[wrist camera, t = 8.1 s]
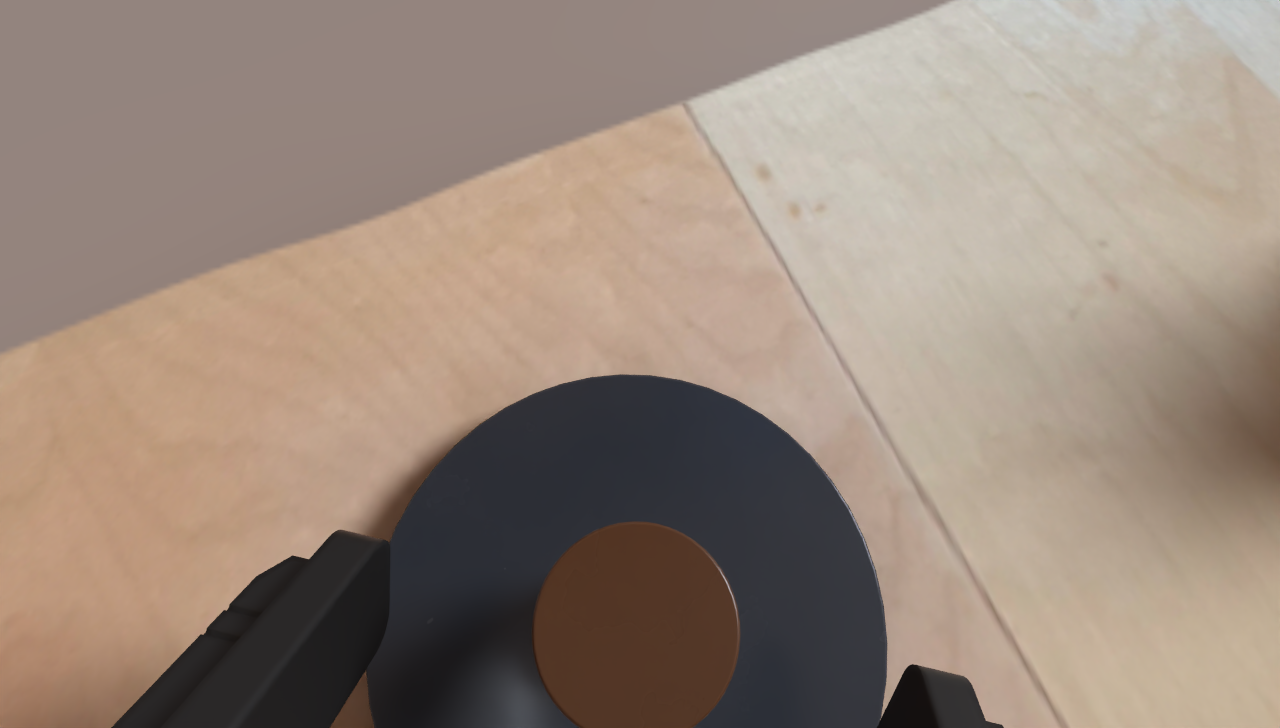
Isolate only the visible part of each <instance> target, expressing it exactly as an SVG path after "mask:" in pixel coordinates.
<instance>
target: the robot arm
mask: <svg viewBox="0 0 1280 728" xmlns="http://www.w3.org/2000/svg"><path fill="white" fill-rule="evenodd" d="M389 607H390V545H389V542H388V541H386V540H382V539H378V538H374V537H369V536H365V535H361V534H357V533H353V532H348V531H344V530H338V531H335V532H334V533H333V534H332V535H331V536H330V537H329V538H328V539H327V540H326V541H325V542H324V543H323V544H322V546H321V547H320V548H319V549H318V550H317V551H316V552H315V553H314V555H313V556H312V557H311V558H310V559H305V558H301V557H296V556H291V557H289V558H288V559H286V560H284V561H282V562H281V563H279V564H277V565H275V566H274V567H272V568H270V569H268V570H267V571H265V572H263V573H262V574H260V575H258V576H256V577H255V579H254V580H253V581H252V582H251V583H250V584H249V585H248V586H247V587H246V588H245V589H244V590H243V591H242V592H241V593H240V594H239V595H238V596H237V597H236V598H235V599H234V600H233V601H232V603H231V604H230V606H229V608H228V610H227V611H226V610H224V611H223V612H222V613H221V614H220V615H219V616H218V617H217V618H216V619H215V620H214V621H213V622H212V623H211V624H210V625H209V626H208V628H207V631H206V633H205V634H204V635H200V636H199V637H198V638H197V639H196V640H195V641H194V642H193V643H192V644H191V645H190V646H189V647H188V648H187V649H186V650H185V651H184V653H183V654H182V655H181V656H180V657H179V658H178V659H177V660H176V661H175V662H174V663H173V664H172V665H171V666H170V667H169V668H168V669H167V670H166V671H165V672H164V673H163V674H162V675H161V677H160V678H159V679H158V680H157V681H156V682H155V683H154V684H153V685H152V686H151V687H150V688H149V689H148V690H147V691H146V692H145V693H144V694H143V695H142V696H141V697H140V698H139V699H138V700H137V702H136V703H135V704H134V705H133V706H132V707H131V708H130V709H129V710H128V711H127V712H126V713H125V714H124V715H123V716H122V717H121V718H120V719H119V720H118V721H117V722H116V723H115V724H114V726H113V727H112V728H330V726H331V725H332V723H333V721H334V720H335V718H336V717H337V715H338V713H339V712H340V710H341V709H342V707H343V705H344V704H345V702H346V701H347V699H348V697H349V696H350V694H351V693H352V691H353V689H354V688H355V686H356V685H357V683H358V681H359V680H360V678H361V677H362V675H363V673H364V672H365V670H366V669H367V667H368V665H369V664H370V662H371V661H372V659H373V658H374V656H375V654H376V652H377V650H378V648H379V646H380V644H381V642H382V639H383V637H384V634H385V631H386V627H387V623H388V619H389ZM877 728H1004V727H1003V726H1002V725H1000V724H996V723H992V722H987V721H986V720H985V718H984V715H983V713H982V710H981V707H980V705H979V702H978V699H977V697H976V694H975V691H974V689H973V687H972V685H971V683H970V681H969V680H968V679H967V678H965V677H964V676H960V675H956V674H952V673H947V672H943V671H939V670H935V669H931V668H926V667H922V666H918V665H913V664H912V665H910V666H908V667H907V668H906V670H905V671H904V673H903V675H902V677H901V679H900V681H899V683H898V685H897V687H896V689H895V692H894V694H893V696H892V698H891V700H890V702H889V704H888V706H887V708H886V710H885V712H884V714H883V716H882V718H881V720H880V722H879V724H878V726H877Z"/></svg>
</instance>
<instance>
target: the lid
mask: <svg viewBox="0 0 1280 728" xmlns="http://www.w3.org/2000/svg"><path fill="white" fill-rule="evenodd" d="M389 545H390V607H389V619H388V623H387V627H386V631H385V634H384V637H383V639H382V642H381V644H380V646H379V648H378V650H377V652H376V654H375V656H374V658H373V659H372V661H371V662H370V664H369V665H368V667H367V669H366V674H367V684H368V695H369V705H370V710H371V715H372V719H373V724H374V728H877V726H878V724H879V722H880V719H881V714H882V707H883V700H884V693H885V686H886V678H887V635H886V625H885V615H884V606H883V601H882V597H881V592H880V587H879V583H878V578H877V574H876V570H875V567H874V565H873V562H872V559H871V556H870V553H869V550H868V547H867V544H866V542H865V539H864V537H863V535H862V533H861V531H860V529H859V527H858V524H857V522H856V520H855V518H854V516H853V514H852V512H851V510H850V508H849V507H848V505H847V503H846V502H845V500H844V499H843V497H842V496H841V494H840V493H839V491H838V490H837V488H836V486H835V485H834V483H833V482H832V480H831V479H830V478H829V477H828V475H827V474H826V473H825V472H824V471H823V469H822V468H821V467H820V466H819V465H818V463H817V462H816V461H815V460H814V458H813V457H812V456H811V455H810V454H809V453H808V452H807V451H806V450H805V449H804V448H803V447H802V446H801V445H799V444H798V443H797V442H796V441H795V440H794V439H793V438H792V437H791V436H790V435H789V434H788V433H787V432H785V431H784V430H783V429H781V428H780V427H778V426H777V425H776V424H774V423H773V422H772V421H770V420H769V419H768V418H766V417H765V416H764V415H762V414H760V413H759V412H757V411H755V410H753V409H752V408H750V407H748V406H746V405H745V404H743V403H741V402H740V401H738V400H736V399H733V398H731V397H729V396H726V395H724V394H722V393H719V392H717V391H714V390H712V389H710V388H707V387H703V386H699V385H696V384H692V383H689V382H685V381H682V380H677V379H670V378H664V377H657V376H651V375H611V376H600V377H590V378H586V379H581V380H577V381H572V382H568V383H563V384H560V385H557V386H554V387H551V388H548V389H546V390H543V391H540V392H537V393H534V394H532V395H530V396H528V397H526V398H524V399H522V400H520V401H518V402H516V403H514V404H512V405H510V406H508V407H506V408H504V409H503V410H501V411H500V412H498V413H497V414H495V415H494V416H492V417H491V418H489V419H488V420H486V421H485V422H483V423H481V424H480V425H479V426H477V427H476V428H475V429H474V430H473V431H471V432H470V433H469V434H468V435H467V436H466V437H464V438H463V439H462V440H461V441H460V442H459V443H457V444H456V445H455V446H454V447H453V448H452V449H451V450H450V451H449V452H448V453H447V455H446V456H445V457H444V458H443V459H442V460H441V461H440V462H439V463H438V464H437V465H436V466H435V468H434V469H433V470H432V471H431V472H430V474H429V475H428V476H427V478H426V479H425V481H424V482H423V483H422V485H421V486H420V487H419V489H418V490H417V492H416V493H415V494H414V496H413V497H412V499H411V501H410V502H409V504H408V506H407V508H406V510H405V511H404V513H403V515H402V517H401V519H400V520H399V522H398V524H397V526H396V528H395V530H394V533H393V535H392V537H391V540H390V542H389Z"/></svg>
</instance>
